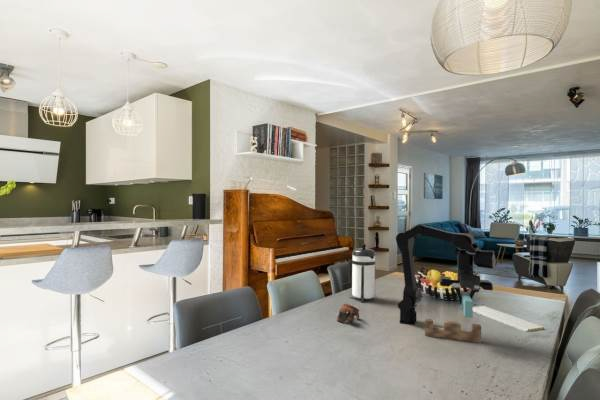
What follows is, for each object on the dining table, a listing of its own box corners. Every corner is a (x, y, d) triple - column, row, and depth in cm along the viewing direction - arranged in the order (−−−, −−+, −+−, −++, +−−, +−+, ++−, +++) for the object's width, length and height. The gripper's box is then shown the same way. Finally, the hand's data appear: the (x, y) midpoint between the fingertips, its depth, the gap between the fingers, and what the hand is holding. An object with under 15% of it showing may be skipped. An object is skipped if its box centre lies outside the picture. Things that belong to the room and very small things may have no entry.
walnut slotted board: (425, 335, 138) (425, 320, 138) (424, 333, 140) (425, 318, 140) (481, 342, 132) (481, 326, 132) (480, 340, 134) (480, 324, 134)
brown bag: (332, 319, 157) (339, 302, 160) (350, 328, 158) (357, 310, 161) (341, 321, 146) (348, 302, 149) (361, 330, 147) (367, 311, 150)
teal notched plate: (460, 306, 141) (460, 291, 141) (467, 307, 141) (467, 292, 141) (465, 317, 128) (465, 300, 128) (472, 318, 127) (472, 301, 127)
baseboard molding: (522, 333, 143) (543, 330, 147) (523, 326, 143) (544, 323, 147) (464, 310, 173) (483, 308, 177) (464, 304, 173) (483, 303, 177)
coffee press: (378, 296, 195) (379, 242, 195) (375, 304, 180) (376, 246, 180) (348, 293, 201) (348, 241, 201) (342, 300, 186) (343, 244, 186)
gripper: (441, 267, 134) (440, 307, 134) (496, 271, 128) (495, 313, 128) (439, 262, 145) (439, 300, 145) (490, 266, 139) (489, 305, 139)
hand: (464, 304), depth 139 cm, fingers closed on teal notched plate, 2 cm apart
